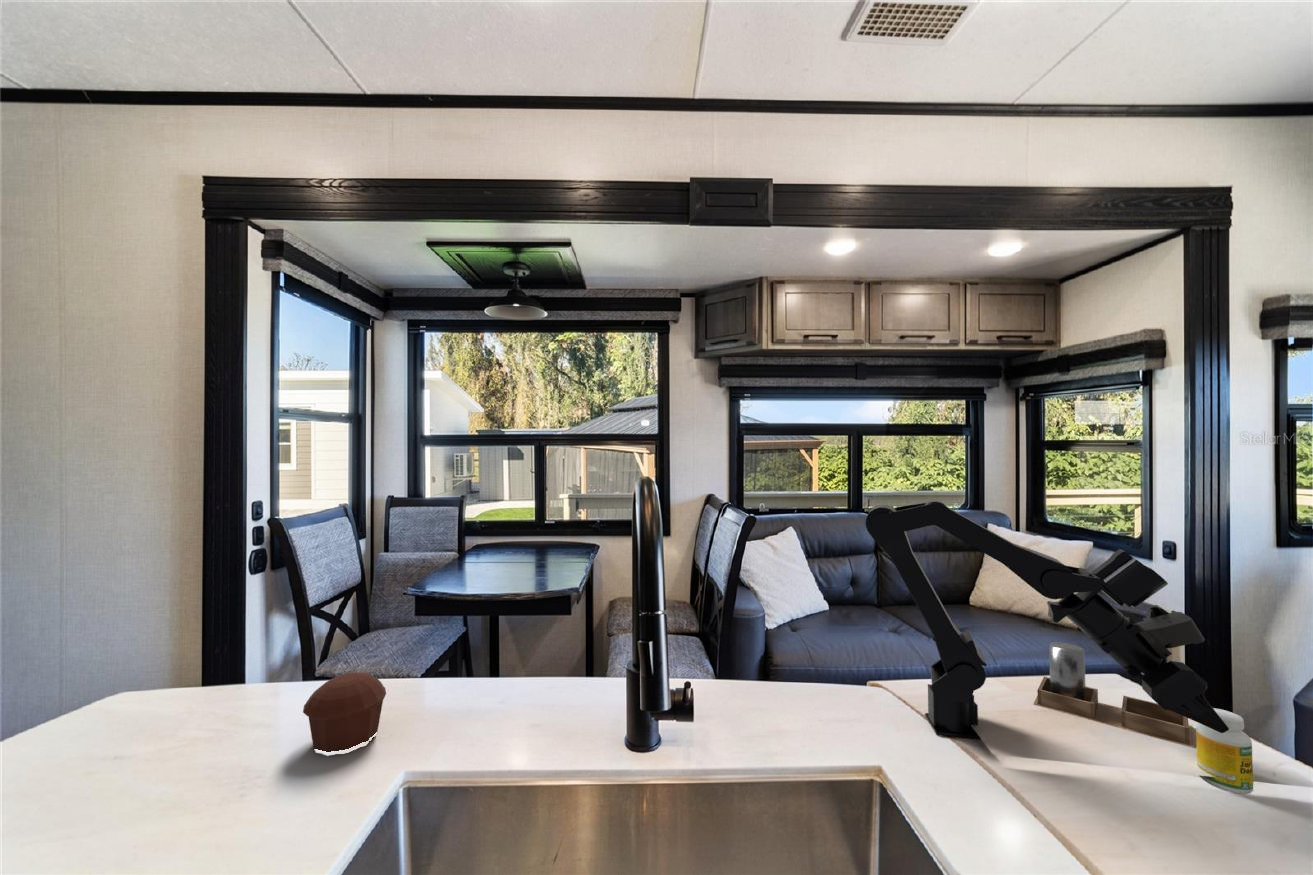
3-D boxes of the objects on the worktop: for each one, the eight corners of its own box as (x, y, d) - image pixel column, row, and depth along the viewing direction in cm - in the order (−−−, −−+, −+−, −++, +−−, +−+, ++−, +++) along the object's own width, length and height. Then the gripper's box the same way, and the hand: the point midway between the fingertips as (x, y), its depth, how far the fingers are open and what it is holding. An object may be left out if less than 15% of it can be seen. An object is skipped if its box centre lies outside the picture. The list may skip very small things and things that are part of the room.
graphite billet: (1060, 709, 91) (1058, 651, 92) (1044, 696, 96) (1043, 641, 97) (1092, 711, 90) (1091, 653, 91) (1075, 698, 95) (1074, 643, 96)
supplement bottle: (1202, 767, 77) (1200, 701, 77) (1257, 786, 73) (1255, 716, 73) (1192, 779, 74) (1190, 711, 74) (1249, 800, 70) (1246, 727, 70)
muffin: (351, 717, 91) (353, 659, 91) (401, 728, 87) (402, 668, 88) (283, 754, 80) (285, 688, 80) (337, 768, 76) (338, 699, 77)
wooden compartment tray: (1192, 735, 86) (1191, 710, 86) (1195, 758, 79) (1194, 731, 79) (1041, 695, 100) (1040, 674, 100) (1033, 712, 93) (1032, 689, 93)
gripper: (1182, 609, 69) (1308, 712, 64) (1130, 579, 86) (1226, 658, 80) (1108, 660, 72) (1222, 762, 67) (1072, 621, 89) (1161, 700, 83)
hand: (1208, 715), depth 74 cm, fingers open, 9 cm apart
